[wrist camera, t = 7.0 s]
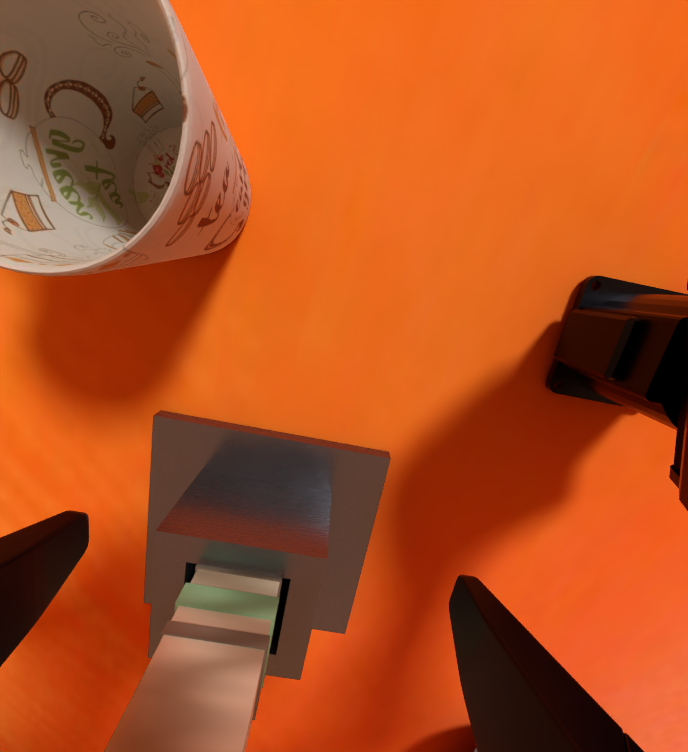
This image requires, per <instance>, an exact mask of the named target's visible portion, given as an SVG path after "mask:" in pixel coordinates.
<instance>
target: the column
mask: <svg viewBox="0 0 688 752" xmlns="http://www.w3.org/2000/svg"><path fill="white" fill-rule="evenodd" d="M282 579H283V578H281V577H275V576H269V575H262V574H256V573H250V572H244V571H238V570H231V569H225V568H219V567H213V566H207V565H200V564H197V565H196V568H195V575H194V577H193V579H192V581H191V583H185V585H184V587H183V589H182V591H181V593H180V595H179V596H178V598H177V600H176V602H175V613H174V616H173V618H172V620H171V621H170V620H168V621H167V623H166V625H165V626H164V628H163V630H162V632H161V641H160V643H159V645H158V647H157V649H156V651H155V653H154V655H153V657H152V659H151V661H150V663H149V665H148V667H147V669H146V671H145V673H144V674H143V676H142V678H141V680H140V682H139V684H138V686H137V688H136V690H135V692H134V694H133V696H132V698H131V700H130V702H129V704H128V706H127V708H126V710H125V712H124V714H123V716H122V718H121V719H120V721H119V723H118V725H117V727H116V729H115V731H114V733H113V735H112V737H111V739H110V741H109V743H108V745H107V747H106V749H105V751H104V752H246V747H247V742H248V737H249V733H250V728H251V723H252V720H255V716H256V711H257V706H258V701H259V695H260V690H261V688H262V687H263V682H264V678H265V673H266V668H267V663H268V657H269V652H270V646H271V641H272V636H273V630H274V625H275V620H276V614H277V609H278V603H279V598H280V597H279V596H280V590H281V585H282Z"/></svg>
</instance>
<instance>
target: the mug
mask: <svg viewBox="0 0 688 752" xmlns="http://www.w3.org/2000/svg"><path fill="white" fill-rule="evenodd" d="M250 204H251V188H250V181H249V176H248V173H247V170H246V167H245V164H244V162H243V159H242V157H241V155H240V153H239V151H238V148H237V146H236V144H235V142H234V140H233V137H232V135H231V133H230V131H229V129H228V127H227V124H226V122H225V120H224V118H223V116H222V113H221V111H220V109H219V107H218V105H217V103H216V100H215V98H214V96H213V94H212V92H211V89H210V87H209V85H208V83H207V81H206V78H205V76H204V74H203V72H202V70H201V68H200V65H199V63H198V61H197V59H196V57H195V54H194V52H193V50H192V48H191V46H190V43H189V41H188V39H187V37H186V35H185V33H184V30H183V28H182V26H181V24H180V22H179V20H178V18H177V16H176V14H175V12H174V10H173V8H172V6H171V4H170V2H169V0H0V268H4V269H8V270H11V271H15V272H20V273H25V274H30V275H40V276H77V275H88V274H95V273H101V272H107V271H113V270H119V269H124V268H130V267H136V266H141V265H147V264H153V263H159V262H164V261H170V260H176V259H181V258H187V257H193V256H199V255H204V254H208V253H212V252H215V251H218V250H220V249H222V248H223V247H225V246H227V245H228V244H229V243H231V242H232V241H233V240H234V239H235V238H236V237H237V235H238V234H239V233H240V231H241V230H242V228H243V226H244V224H245V222H246V220H247V217H248V214H249V210H250Z"/></svg>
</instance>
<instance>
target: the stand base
mask: <svg viewBox="0 0 688 752" xmlns="http://www.w3.org/2000/svg"><path fill="white" fill-rule="evenodd" d="M390 459H391V458H390V454H389V452H386V451H381V450H375V449H370V448H364V447H359V446H353V445H348V444H342V443H337V442H331V441H326V440H320V439H315V438H309V437H304V436H298V435H293V434H287V433H282V432H276V431H271V430H265V429H260V428H254V427H249V426H243V425H238V424H232V423H227V422H221V421H216V420H210V419H205V418H199V417H194V416H188V415H183V414H177V413H172V412H166V411H161V410H160V411H159V412H158V413H156V414H155V415H153V432H152V452H151V472H150V492H149V512H148V531H147V551H146V571H145V591H144V603H149V604H151V616H150V634H149V651H148V658H152V657H153V655H154V653H155V651H156V649H157V647H158V645H159V643H160V641H161V632H162V630H163V628H164V626H165V625H166V623H167V621H168V620H170V621H171V620H172V618H173V616H174V613H175V602H176V600H177V598H178V596H179V595H180V593H181V591H182V589H183V587H184V585H185V583H191V581H192V579H193V577H194V575H195V568H196V565H197V564H200V565H207V566H213V567H219V568H225V569H231V570H238V571H244V572H250V573H256V574H262V575H269V576H275V577H281V578H283V579H282V585H281V590H280V596H279V597H280V598H279V603H278V609H277V614H276V620H275V625H274V630H273V636H272V641H271V646H270V652H269V657H268V663H267V668H266V673H265V675H269V676H276V677H283V678H290V679H296V680H300V678H301V674H302V669H303V665H304V660H305V656H306V651H307V647H308V643H309V638H310V634H311V629H316V630H323V631H329V632H336V633H342V634H345V632H346V628H347V624H348V620H349V616H350V612H351V608H352V605H353V601H354V597H355V593H356V589H357V585H358V582H359V578H360V574H361V570H362V566H363V562H364V559H365V555H366V551H367V547H368V543H369V539H370V535H371V532H372V528H373V524H374V520H375V516H376V512H377V509H378V505H379V501H380V497H381V493H382V489H383V486H384V482H385V478H386V474H387V470H388V466H389V463H390Z"/></svg>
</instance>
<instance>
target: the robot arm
mask: <svg viewBox="0 0 688 752" xmlns="http://www.w3.org/2000/svg"><path fill="white" fill-rule="evenodd" d="M593 282H595V283H596V287H595V288H594V289H593V290H592V288H591V286H592V283H593ZM687 290H688V283H687ZM554 356H555V358H554V361H553V364H552V366H551V369H550V372H549V374H548V377H547V380H546V388H547V389H548V390H550V391H552V392H554V393H558V394H563V395H568V396H573V397H578V398H583V399H589V400H594V401H599V402H604V403H609V404H614V405H619V406H625V407H627V408H629V409H632V410H634V411H636V412H638V413H640V414H643V415H645V416H647V417H649V418H651V419H653V420H656V421H658V422H660V423H662V424H664V425H667V426H669V427H671V428H673V429H675V430H677V436H676V446H675V457H674V465H671V466H670V475H669V477H670V479H671V480H672V481H673V482H674V484H675V485H676V486H677V487H678V488H679V500H680V501H681V503H682V504H683V505H684V507H685V508H686V509H687V511H688V294H683V293H678V292H673V291H669V290H664V289H659V288H655V287H650V286H645V285H641V284H636V283H631V282H626V281H622V280H617V279H612V278H608V277H603V276H590V277H587V278H586V279H585V280H584V281H583V283H582V286H581V288H580V291H579V294H578V296H577V299H576V302H575V304H574V307H573V310H572V312H570V314H569V316H568V319H567V322H566V324H565V327H564V330H563V332H562V335H561V338H560V340H559V343H558V346H557V349H556V351H555V354H554ZM556 381H559V384H558V385H557V386H556V387H554V383H555V382H556ZM88 543H89V519H88V515H87V514H86V513H83V512H77V511H65V512H62V513H60V514H57V515H55V516H52V517H50V518H48V519H45V520H43V521H40V522H38V523H35V524H33V525H30V526H28V527H25V528H23V529H21V530H18V531H16V532H13V533H11V534H8V535H6V536H3V537H1V538H0V667H1V665H2V664H3V663H4V662H5V661H6V659H7V658H8V657H9V656H10V654H11V653H12V652H13V651H14V649H15V648H16V647H17V646H18V645H19V643H20V642H21V641H22V640H23V638H24V637H25V636H26V635H27V633H28V632H29V631H30V630H31V628H32V627H33V626H34V625H35V623H36V622H37V621H38V619H39V618H40V617H41V615H42V614H43V612H44V611H45V610H46V608H47V607H48V605H49V604H50V602H51V601H52V599H53V598H54V597H55V595H56V594H57V592H58V591H59V589H60V588H61V586H62V585H63V583H64V582H65V580H66V579H67V578H68V576H69V575H70V573H71V572H72V570H73V569H74V567H75V566H76V564H77V563H78V562H79V560H80V559H81V557H82V556H83V554H84V553H85V551H86V549H87V546H88ZM449 613H450V619H451V625H452V632H453V638H454V645H455V651H456V657H457V664H458V670H459V676H460V681H461V686H462V691H463V695H464V700H465V704H466V708H467V712H468V716H469V720H470V724H471V728H472V732H473V736H474V740H475V744H476V748H477V752H644V751H643V750H642V749H641V748H640V747H639V746H638V745H637V744H636V743H635V742H634V741H633V740H632V738H631V737H630V736H629V735H628V734H626V733H623V730H622V728H621V727H620V726H619V725H618V724H617V723H616V722H615V721H614V720H613V719H612V718H611V717H610V716H609V715H608V714H607V713H606V712H605V711H604V709H603V708H602V707H601V706H600V705H599V704H598V703H597V702H596V701H595V700H594V699H593V698H592V697H591V696H590V695H589V694H588V693H587V692H586V691H585V690H584V689H583V688H582V687H581V685H580V684H579V683H578V682H577V681H576V680H575V679H574V678H573V677H572V676H571V675H570V674H569V673H568V672H567V671H566V670H565V669H564V668H563V667H562V666H561V665H560V664H559V663H558V662H557V660H556V659H555V658H554V657H553V656H552V655H551V654H550V653H549V652H548V651H547V650H546V649H545V648H544V647H543V646H542V645H541V644H540V643H539V642H538V641H537V640H536V639H535V638H534V636H533V635H532V634H531V633H530V632H529V631H528V630H527V629H526V628H525V627H524V626H523V625H522V624H521V623H520V622H519V621H518V620H517V619H516V618H515V617H514V616H513V615H512V614H511V613H510V611H509V610H508V609H507V608H506V607H505V606H504V605H503V604H502V603H501V602H500V601H499V600H498V599H497V598H496V597H495V596H494V595H493V594H492V593H491V592H490V591H489V590H488V589H487V587H486V586H485V585H484V584H483V583H482V582H481V581H480V580H479V579H478V578H476V577H474V576H468V575H459V576H458V578H457V580H456V583H455V586H454V589H453V592H452V594H451V597H450V601H449Z"/></svg>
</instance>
